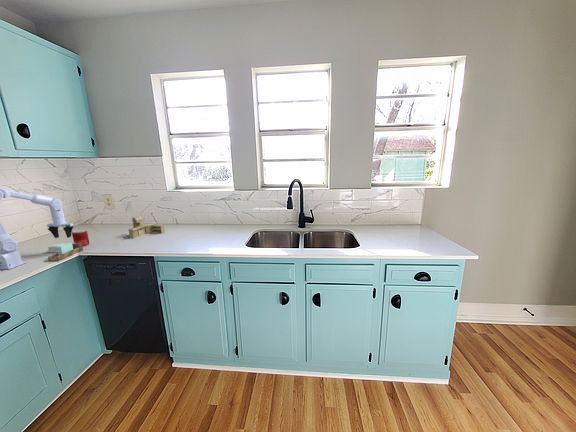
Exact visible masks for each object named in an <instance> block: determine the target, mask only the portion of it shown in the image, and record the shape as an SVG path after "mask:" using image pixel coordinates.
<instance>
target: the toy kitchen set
mask: <svg viewBox="0 0 576 432" xmlns="http://www.w3.org/2000/svg"><path fill="white" fill-rule="evenodd" d="M131 221H132V228H129V229H128V234H129V239H137V238H139V237H141V236H144V235H149V234H151V235H152V234H158V235H159V234H160V235H161V234H164V233H165V232H166V231H165V230H166V229H165V223H144V224H142V225H141V223H142V222H144V219H143V217H141V215H137V216H134V217H132V218H131Z"/></svg>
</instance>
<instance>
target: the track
mask: <svg viewBox="0 0 576 432" xmlns="http://www.w3.org/2000/svg"><path fill="white" fill-rule="evenodd" d="M71 243H72V246H73V250H71V251H69V252H66V253H64V254H62V255H59V254H58V252H56V253H54V254H52V255H49V256H48V257H47V260H48V262H50V263H51V262H60V261H63V260H65V259H67V258H69V257H71V256H74V255H76V254H78V253H81V252H83V251H84V247H82V243H74V242H71Z"/></svg>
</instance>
